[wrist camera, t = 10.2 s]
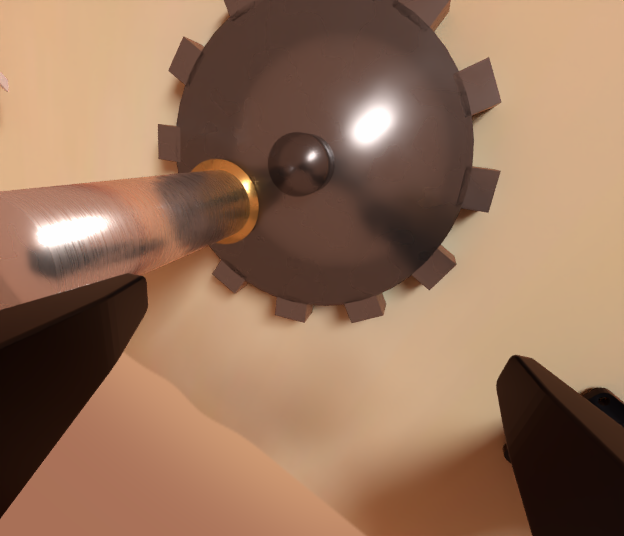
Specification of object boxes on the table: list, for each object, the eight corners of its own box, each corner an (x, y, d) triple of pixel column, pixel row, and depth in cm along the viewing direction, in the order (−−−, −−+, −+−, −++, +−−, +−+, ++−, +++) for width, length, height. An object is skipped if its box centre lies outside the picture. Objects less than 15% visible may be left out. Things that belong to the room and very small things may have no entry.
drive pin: (258, 186, 19) (62, 229, 9) (239, 246, 20) (53, 344, 10) (199, 159, 19) (-50, 171, 9) (185, 220, 21) (-43, 288, 11)
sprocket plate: (589, 125, 15) (627, 120, 12) (340, 365, 22) (328, 396, 19) (280, -125, 16) (248, -185, 13) (133, 188, 23) (92, 193, 20)
